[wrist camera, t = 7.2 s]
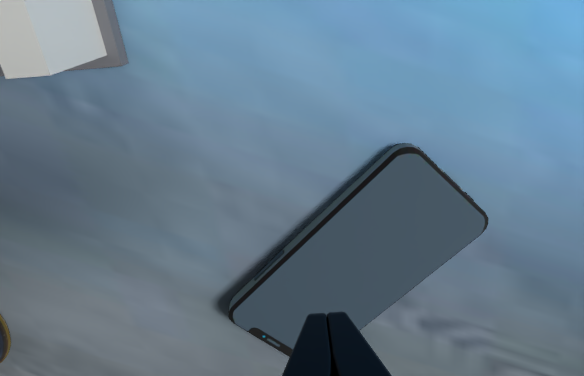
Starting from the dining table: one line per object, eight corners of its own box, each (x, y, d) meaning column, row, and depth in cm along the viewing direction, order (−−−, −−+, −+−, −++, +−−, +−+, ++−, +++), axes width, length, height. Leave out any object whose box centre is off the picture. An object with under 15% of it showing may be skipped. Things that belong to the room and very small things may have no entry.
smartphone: (500, 225, 21) (312, 373, 25) (484, 210, 22) (309, 352, 27) (408, 138, 18) (219, 318, 23) (399, 127, 20) (223, 299, 25)
